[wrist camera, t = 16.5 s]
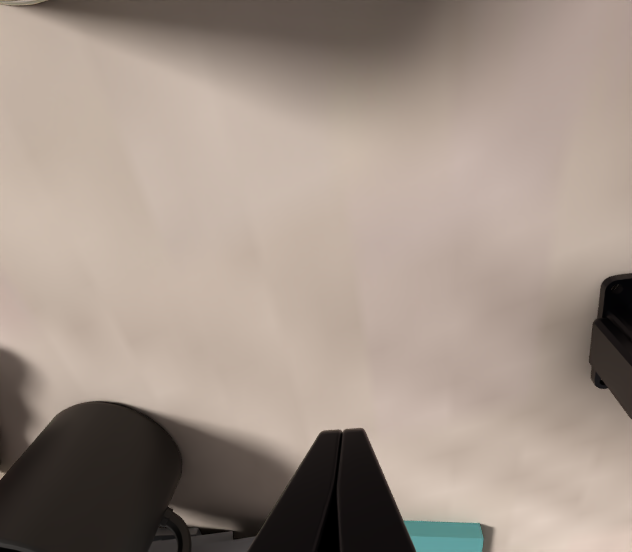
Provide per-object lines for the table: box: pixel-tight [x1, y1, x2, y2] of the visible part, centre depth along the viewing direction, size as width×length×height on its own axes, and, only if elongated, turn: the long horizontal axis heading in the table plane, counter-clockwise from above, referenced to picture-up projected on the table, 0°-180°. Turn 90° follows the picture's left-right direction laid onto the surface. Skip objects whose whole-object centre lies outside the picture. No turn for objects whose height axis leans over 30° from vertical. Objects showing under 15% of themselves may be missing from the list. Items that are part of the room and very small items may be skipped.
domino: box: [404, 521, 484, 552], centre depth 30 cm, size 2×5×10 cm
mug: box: [0, 402, 192, 552], centre depth 25 cm, size 9×12×9 cm
